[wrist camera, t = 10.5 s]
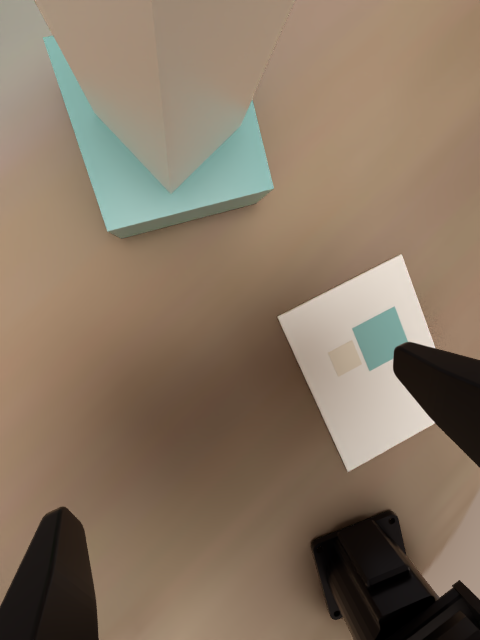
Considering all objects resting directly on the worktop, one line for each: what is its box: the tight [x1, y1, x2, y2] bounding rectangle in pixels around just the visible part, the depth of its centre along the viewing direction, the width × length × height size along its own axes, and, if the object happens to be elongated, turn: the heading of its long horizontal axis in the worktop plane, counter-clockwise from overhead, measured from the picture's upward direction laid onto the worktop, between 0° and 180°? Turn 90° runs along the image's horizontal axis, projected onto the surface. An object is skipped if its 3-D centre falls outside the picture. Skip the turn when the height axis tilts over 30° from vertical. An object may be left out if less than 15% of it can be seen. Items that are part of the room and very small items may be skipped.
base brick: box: [43, 36, 274, 239], centre depth 18 cm, size 8×8×4 cm
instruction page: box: [277, 254, 435, 472], centre depth 24 cm, size 12×9×1 cm
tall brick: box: [34, 0, 295, 194], centre depth 9 cm, size 4×4×14 cm
